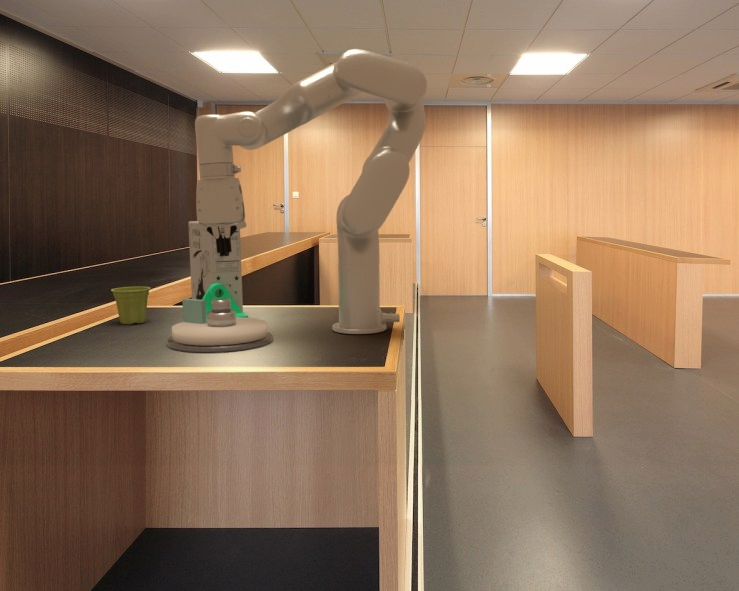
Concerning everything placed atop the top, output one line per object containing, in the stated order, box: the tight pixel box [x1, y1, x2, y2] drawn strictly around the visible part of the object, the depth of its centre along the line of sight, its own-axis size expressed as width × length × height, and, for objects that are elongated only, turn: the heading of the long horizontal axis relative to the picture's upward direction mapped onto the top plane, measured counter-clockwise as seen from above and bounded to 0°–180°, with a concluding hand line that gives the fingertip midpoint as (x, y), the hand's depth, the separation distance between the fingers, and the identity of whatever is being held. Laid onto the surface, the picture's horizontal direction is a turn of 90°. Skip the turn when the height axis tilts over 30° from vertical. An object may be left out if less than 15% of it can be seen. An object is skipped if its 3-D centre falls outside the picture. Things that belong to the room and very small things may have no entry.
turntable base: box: [166, 331, 274, 354], centre depth 143 cm, size 22×22×1 cm
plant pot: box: [110, 286, 151, 325], centre depth 167 cm, size 9×9×9 cm
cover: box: [207, 299, 236, 327], centre depth 142 cm, size 6×6×5 cm
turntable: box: [171, 298, 269, 346], centre depth 142 cm, size 20×20×7 cm
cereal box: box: [188, 220, 244, 313], centre depth 176 cm, size 22×8×25 cm, turn 29°
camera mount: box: [202, 283, 249, 318], centre depth 162 cm, size 12×8×10 cm, turn 115°
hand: (224, 255), depth 149 cm, fingers closed
